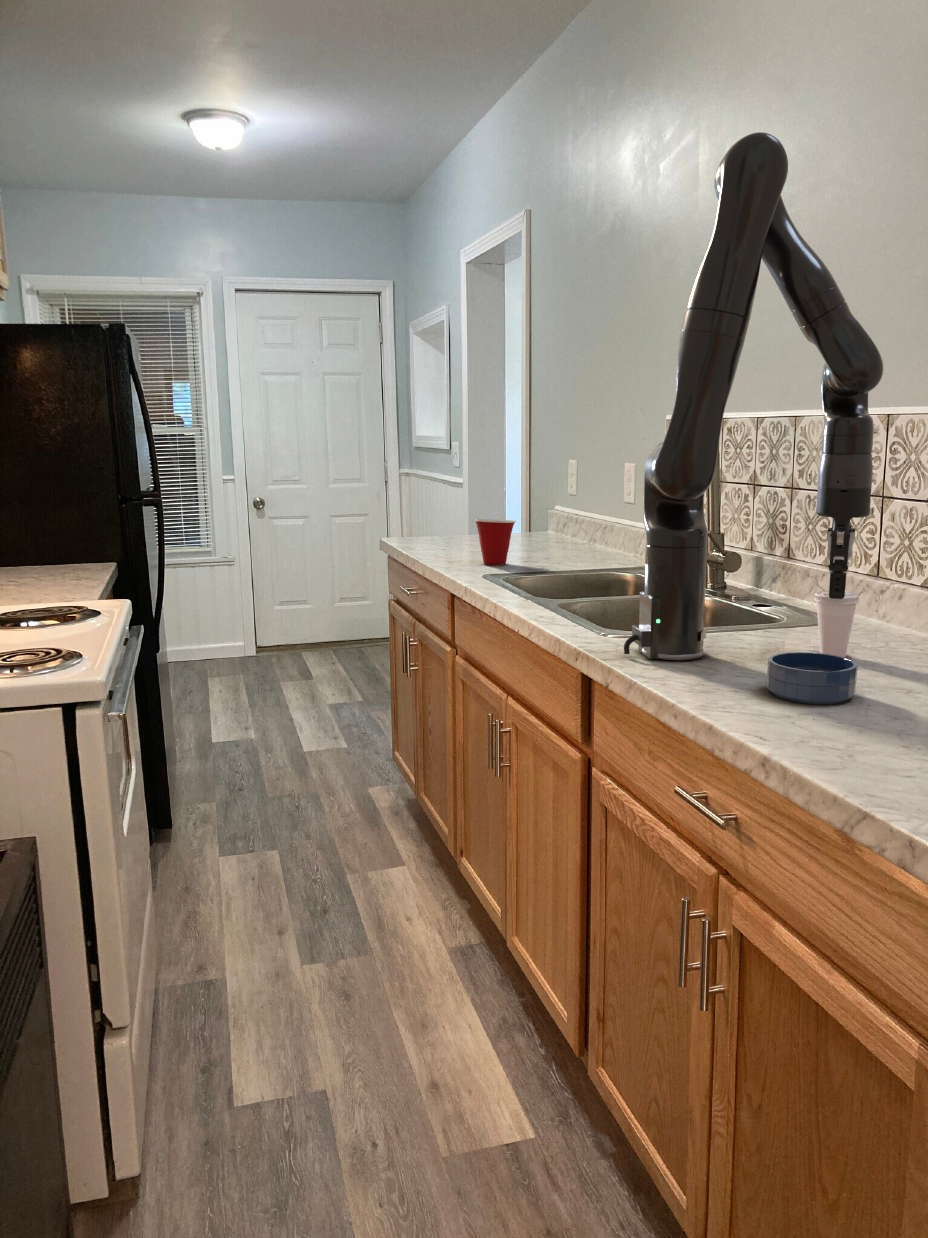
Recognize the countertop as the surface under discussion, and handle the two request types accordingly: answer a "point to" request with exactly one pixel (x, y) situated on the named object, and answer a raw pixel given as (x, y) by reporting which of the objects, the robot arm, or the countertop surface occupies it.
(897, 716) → the countertop surface
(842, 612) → the smoothie
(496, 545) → the plastic cup
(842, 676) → the bowl
